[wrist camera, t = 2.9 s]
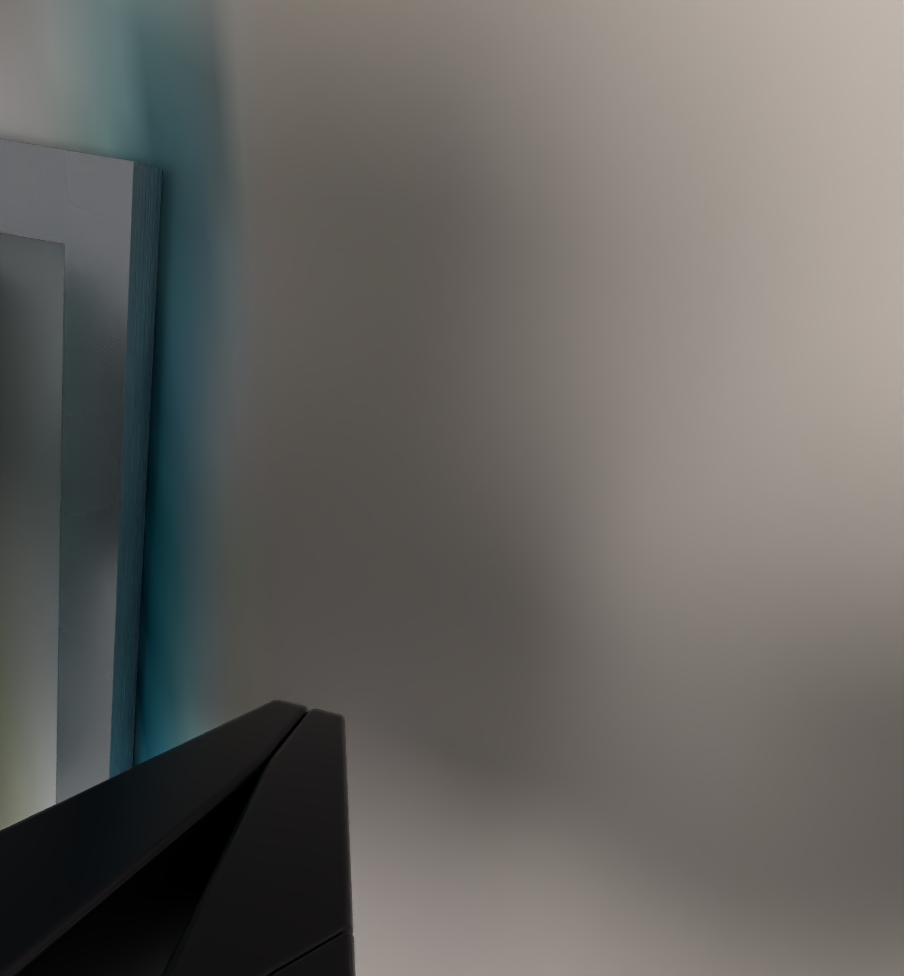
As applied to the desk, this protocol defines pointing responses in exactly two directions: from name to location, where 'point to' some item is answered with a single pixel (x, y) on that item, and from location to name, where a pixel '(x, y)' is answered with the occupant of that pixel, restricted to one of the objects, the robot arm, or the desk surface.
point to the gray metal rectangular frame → (96, 431)
